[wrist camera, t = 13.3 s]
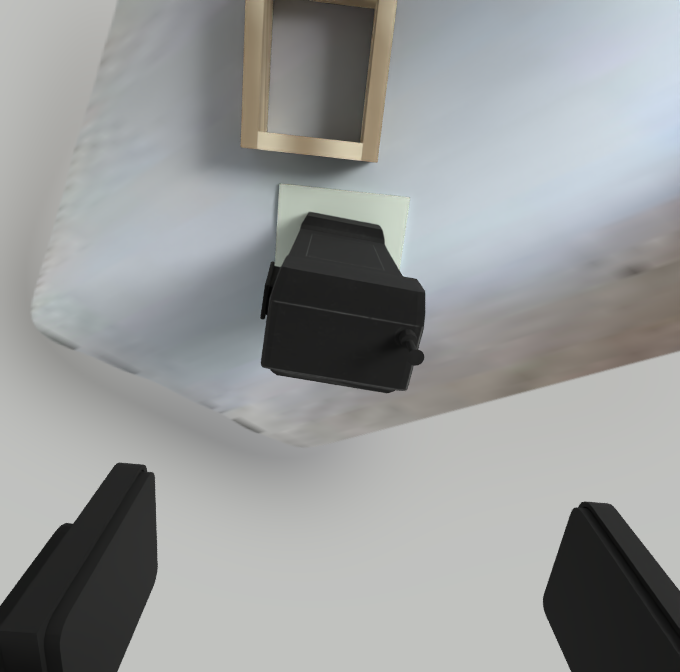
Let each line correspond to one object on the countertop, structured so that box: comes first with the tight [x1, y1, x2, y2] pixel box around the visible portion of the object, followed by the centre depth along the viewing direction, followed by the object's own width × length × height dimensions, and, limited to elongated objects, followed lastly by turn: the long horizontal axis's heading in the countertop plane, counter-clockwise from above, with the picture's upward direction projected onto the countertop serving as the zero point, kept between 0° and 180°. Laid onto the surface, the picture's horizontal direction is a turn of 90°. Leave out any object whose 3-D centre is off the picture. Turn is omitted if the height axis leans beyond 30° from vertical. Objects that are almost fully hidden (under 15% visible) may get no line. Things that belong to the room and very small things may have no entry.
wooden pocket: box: [241, 0, 397, 162], centre depth 36 cm, size 10×12×5 cm
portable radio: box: [261, 212, 425, 393], centre depth 31 cm, size 8×6×25 cm
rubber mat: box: [275, 183, 410, 270], centre depth 43 cm, size 11×11×1 cm
